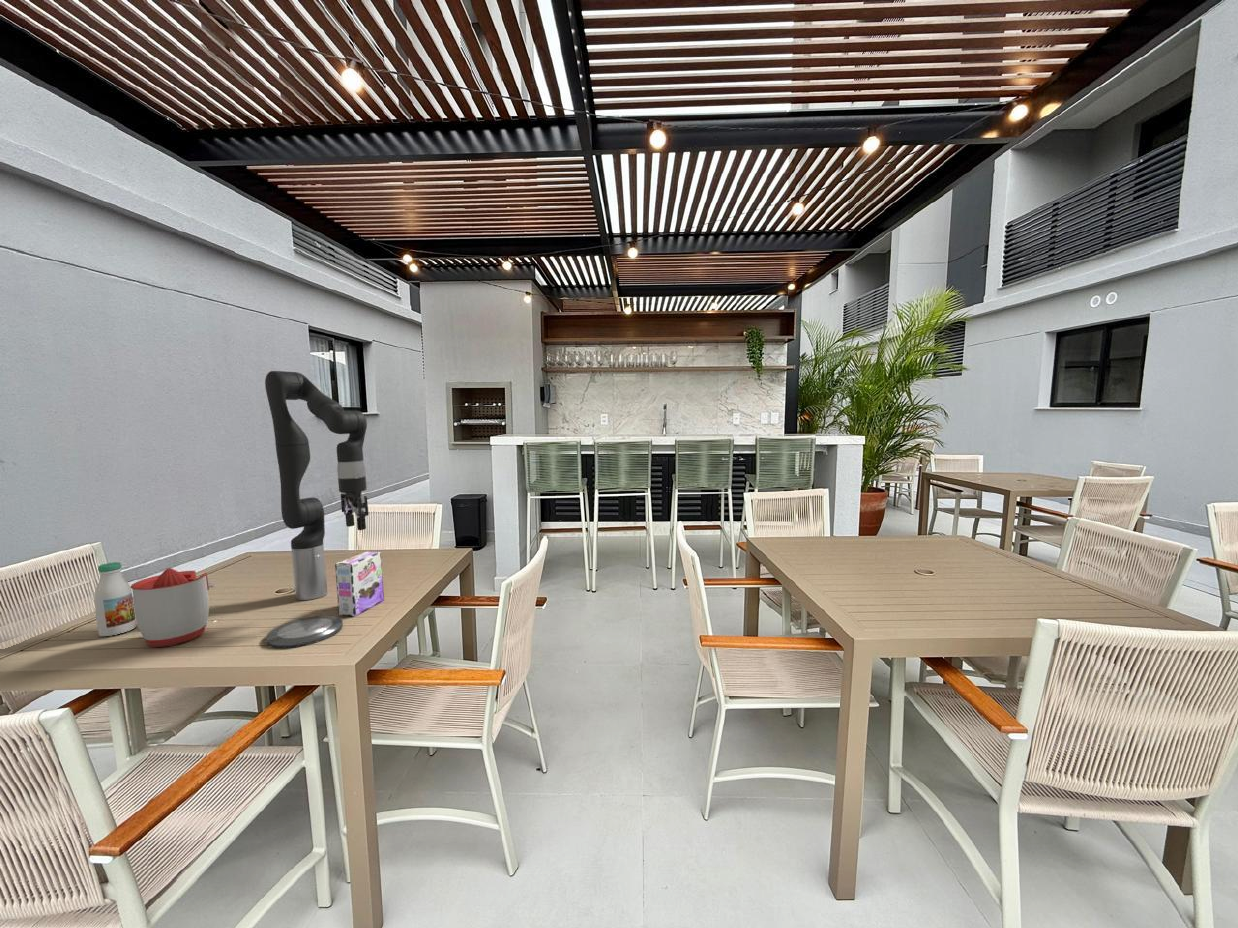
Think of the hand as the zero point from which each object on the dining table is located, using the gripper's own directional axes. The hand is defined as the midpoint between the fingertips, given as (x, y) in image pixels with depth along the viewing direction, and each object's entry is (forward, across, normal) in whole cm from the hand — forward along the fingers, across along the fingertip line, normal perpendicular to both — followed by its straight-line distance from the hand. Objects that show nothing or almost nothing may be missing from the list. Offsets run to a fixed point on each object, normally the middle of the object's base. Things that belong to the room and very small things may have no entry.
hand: (356, 527), depth 155 cm
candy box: (+26, 0, 0) cm, 26 cm away
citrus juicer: (+26, -19, -41) cm, 52 cm away
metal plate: (+26, +7, -18) cm, 32 cm away
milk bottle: (+26, -39, -52) cm, 70 cm away
